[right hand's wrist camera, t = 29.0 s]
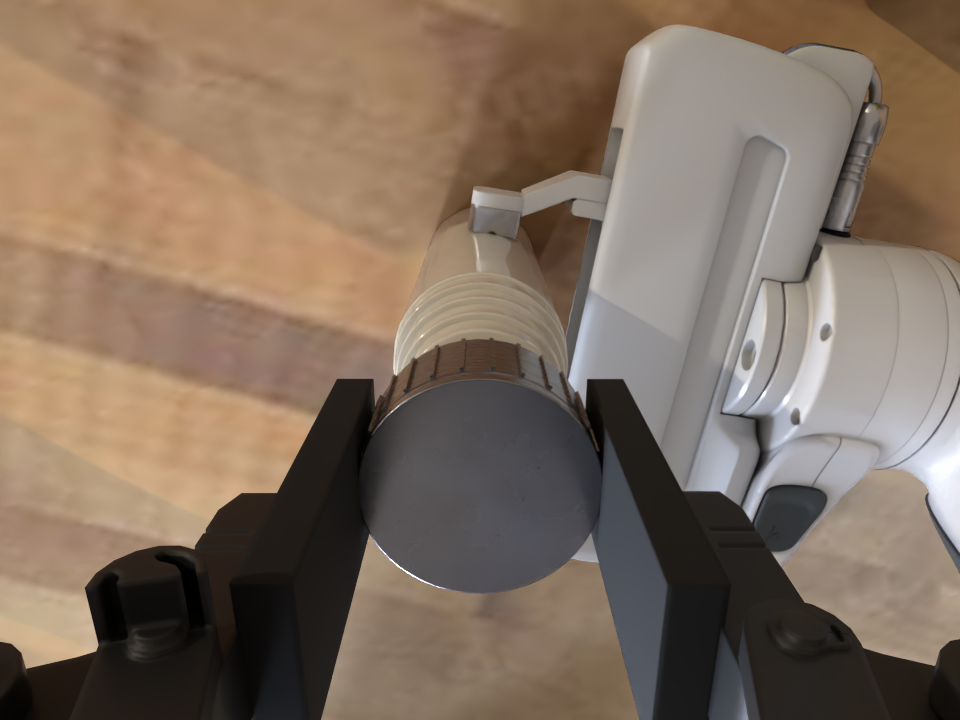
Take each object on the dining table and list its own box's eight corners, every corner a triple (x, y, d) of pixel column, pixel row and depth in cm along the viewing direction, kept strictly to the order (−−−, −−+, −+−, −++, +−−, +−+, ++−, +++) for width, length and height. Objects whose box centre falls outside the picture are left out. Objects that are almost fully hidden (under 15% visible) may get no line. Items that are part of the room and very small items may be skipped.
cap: (362, 337, 14) (341, 378, 12) (592, 333, 14) (612, 373, 12) (379, 532, 15) (363, 598, 13) (585, 528, 15) (601, 594, 13)
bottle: (537, 306, 32) (610, 558, 14) (434, 316, 32) (377, 579, 14) (529, 201, 31) (600, 335, 12) (421, 212, 31) (335, 362, 13)
